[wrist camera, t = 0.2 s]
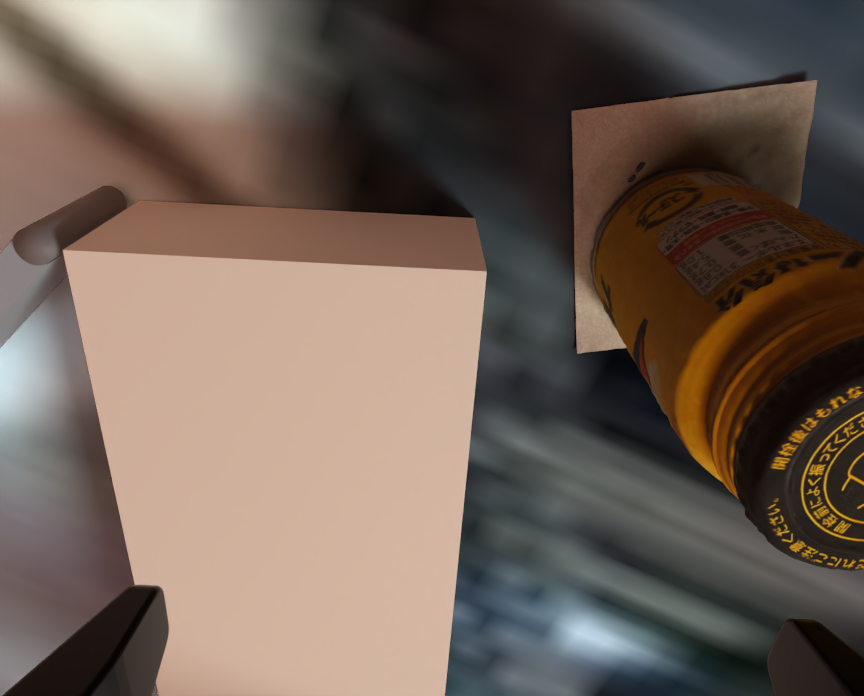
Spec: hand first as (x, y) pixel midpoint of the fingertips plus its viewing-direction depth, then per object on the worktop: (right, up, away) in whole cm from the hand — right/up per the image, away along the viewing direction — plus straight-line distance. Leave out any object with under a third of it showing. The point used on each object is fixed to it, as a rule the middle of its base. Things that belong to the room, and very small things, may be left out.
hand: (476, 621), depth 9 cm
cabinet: (-5, 0, +17) cm, 17 cm away
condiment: (+8, +8, +13) cm, 17 cm away
